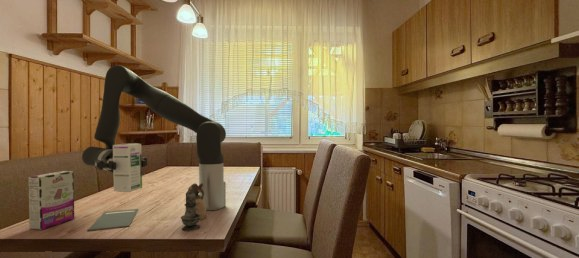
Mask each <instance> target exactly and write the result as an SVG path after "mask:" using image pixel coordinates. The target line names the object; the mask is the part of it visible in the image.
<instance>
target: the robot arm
mask: <svg viewBox="0 0 579 258" xmlns="http://www.w3.org/2000/svg"><path fill="white" fill-rule="evenodd" d="M122 93H125V94H127V95H129V96H131V97H134V98H136V99H138V100H139V101H140V102H142V103H143V104H145V106H147V107H148V108H149V109H150V110H151V111H152V112H154V113H155V114H157V115H159V116H160V117H161V118H163V119H165V120H166V121H169V122H170V123H173V124H175V125H177V126H181V127H183V128H186V129H189V130H190V131H193V132H194V133H195V134H196V155H197V158H198V186H199V185H200V184H201V183H202V184H203V186H202V189H203V191H204V197H203V200H204V203H205V207H206V211H216V210H220V209H223V208H224V207H225V206H227V205H226V203H227V201H226V199H227V198H226V197H227V196H226V193H227V192H226V188H227V187H226V185H227V184H226V181H224V180H225V179H224V176H225V175H224V166H225V165H224V161H225V160H224V158H225V157H224V155H223V154H222V147H221V143H223V141H224V140H225V139H226V136H227V132H226V129H225V127H224V126H223V125H222V124H221V123H220V122H217V121H215V120H212V119H210V118H209V117H207V116H204V115H202V114H200V113H199V112H197V111H196V110H194V109H193V108H192V107H191V106H189V105H188V104H186V103H184V102H183V101H181V100H180V99H178V98H177V97H175V96H174V95H172V94H170V93H168V92H167V91H164V90H162V89H160V88H159V87H158V88H157V87H155V86H153V85H151V84H150V83H148V82H147V81H145V80H144V79H142V78H141V77H140V76H139V75H137V73H135V72H133V71H132V70H130V69H129V68H127V67H125V66H123V65H119V64H118V65H117V64H115V65H113V66H110V67H109V68H108V70H107V71H106V73H105V78H104V85H103V94H102V101H101V102H102V103H101V104H102V105H101V110H100V113H99V118H98V122H97V126H96V128H95V132H94V139H95V140H96V141H97V142H100V143H103V144H105V148H104V147H97V146H89V147H86V148H85V149H84V150H83V152H82V154H81V160H82V162H83V163H84V164H85V166H86V165H87V166H91V167H94V168H95V169H97V170H100V171H102V170H105V171H107V172H111V173H113V170H116V162H113V145H116V138H117V135H118V131H119V127H120V124H121V123H120V121H121V114H120V101H121V99H120V98H121V96H122ZM146 166H148V157H143V156H142V168H146ZM198 195H200V196H202V193H201V192H199V194H198Z"/></svg>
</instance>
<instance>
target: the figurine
mask: <svg viewBox="0 0 579 258" xmlns="http://www.w3.org/2000/svg"><path fill="white" fill-rule="evenodd" d="M202 186H203V184H202V183H201V184H200V185H199V184H197V183H192V184H191V185H190V186H189V187H188V188H187V191H186V192H185V195H186V194H187V193H189V192H190V189H191V190H192V192H194V193H195V195H196V203H197V205H196V213H197V214H199V215H201V217H200V220H199V222H200V221H202V220H205V219H206V218H207V210H206V207H205V203H204V200H203V197H204V191H203V189H202ZM199 192H201V193H202V196H200V195H199ZM184 211H185V212H186V210H184ZM185 212H184V213H185Z"/></svg>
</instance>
